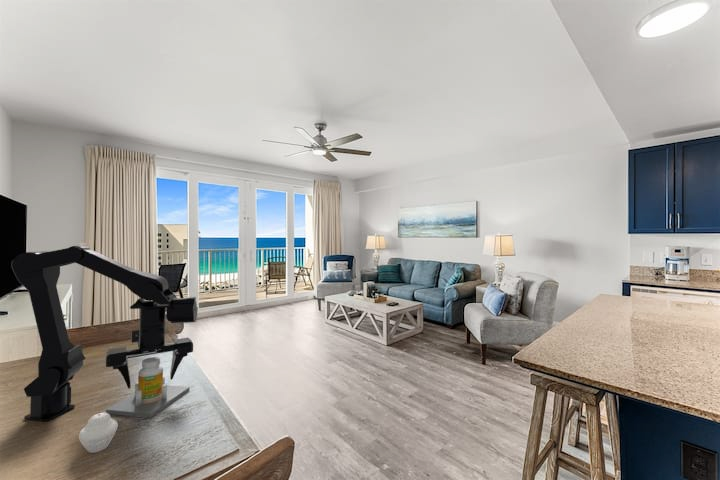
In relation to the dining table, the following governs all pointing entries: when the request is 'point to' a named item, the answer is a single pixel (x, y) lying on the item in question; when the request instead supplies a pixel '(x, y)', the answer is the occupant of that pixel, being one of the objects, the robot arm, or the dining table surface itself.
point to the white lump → (98, 432)
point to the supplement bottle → (150, 379)
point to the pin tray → (147, 402)
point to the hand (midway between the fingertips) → (151, 383)
